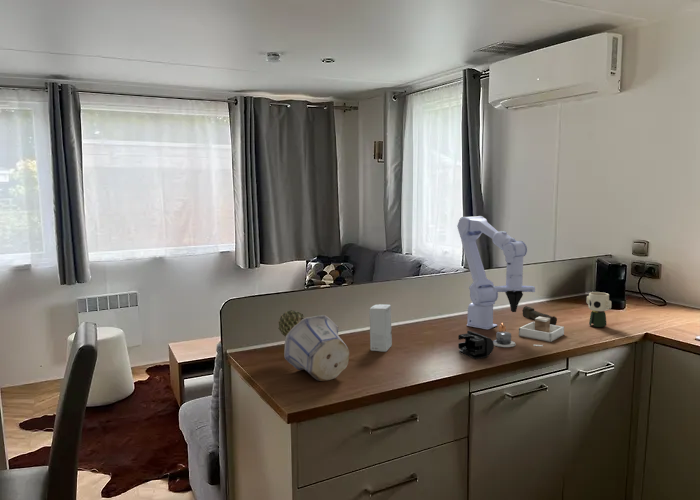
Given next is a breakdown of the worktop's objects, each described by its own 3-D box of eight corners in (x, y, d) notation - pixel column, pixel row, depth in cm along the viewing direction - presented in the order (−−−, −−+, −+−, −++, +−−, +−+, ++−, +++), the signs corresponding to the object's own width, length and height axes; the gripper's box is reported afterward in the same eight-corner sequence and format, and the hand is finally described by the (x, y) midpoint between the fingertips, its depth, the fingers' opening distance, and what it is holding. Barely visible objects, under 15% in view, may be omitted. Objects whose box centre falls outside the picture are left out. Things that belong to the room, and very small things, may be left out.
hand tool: (557, 326, 210) (558, 314, 210) (548, 327, 209) (549, 315, 209) (528, 315, 228) (528, 304, 228) (520, 316, 227) (520, 305, 227)
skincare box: (386, 352, 179) (386, 309, 178) (369, 351, 181) (368, 308, 179) (392, 345, 187) (392, 303, 185) (375, 344, 189) (375, 302, 187)
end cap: (494, 356, 173) (494, 336, 173) (476, 360, 170) (476, 339, 170) (474, 348, 182) (474, 329, 182) (457, 351, 179) (457, 332, 178)
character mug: (579, 324, 211) (580, 292, 210) (592, 322, 215) (593, 290, 213) (603, 330, 202) (605, 297, 200) (616, 328, 205) (617, 295, 203)
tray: (518, 335, 196) (518, 327, 196) (532, 329, 205) (532, 321, 205) (550, 341, 188) (551, 333, 188) (563, 334, 197) (564, 326, 197)
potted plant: (361, 329, 154) (312, 289, 177) (305, 342, 145) (262, 298, 168) (356, 381, 160) (309, 336, 183) (302, 397, 151) (261, 347, 174)
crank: (511, 344, 184) (511, 331, 183) (496, 343, 185) (496, 330, 184) (508, 334, 196) (509, 322, 195) (494, 333, 197) (495, 321, 196)
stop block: (534, 334, 196) (534, 318, 196) (538, 332, 200) (539, 316, 199) (545, 336, 194) (545, 320, 193) (549, 334, 197) (550, 318, 196)
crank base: (492, 346, 184) (492, 345, 184) (491, 340, 191) (491, 338, 191) (544, 349, 180) (544, 347, 180) (541, 342, 188) (541, 341, 188)
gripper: (496, 276, 190) (496, 314, 191) (538, 276, 189) (537, 313, 191) (492, 273, 197) (491, 309, 198) (532, 273, 196) (531, 309, 198)
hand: (513, 311), depth 195 cm, fingers closed
